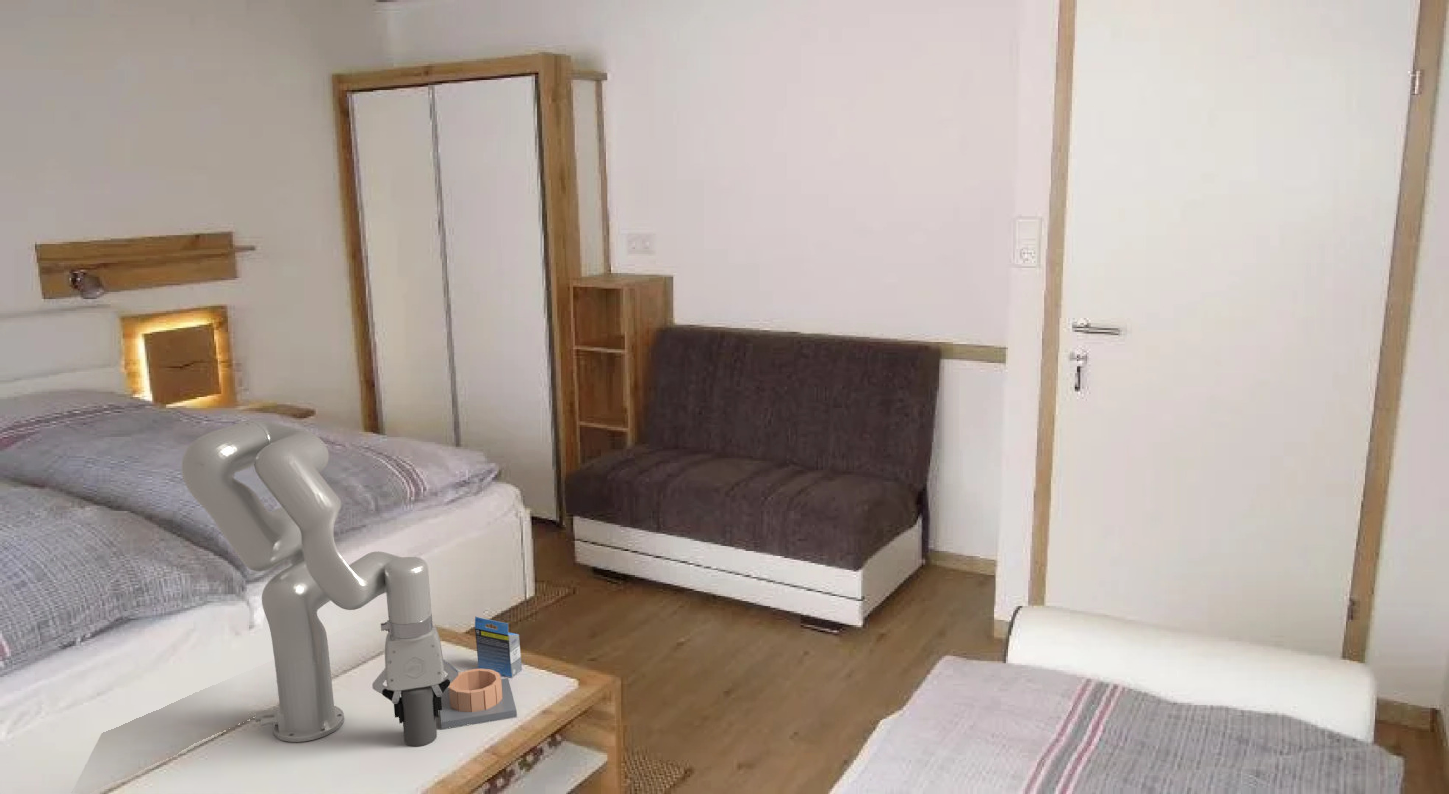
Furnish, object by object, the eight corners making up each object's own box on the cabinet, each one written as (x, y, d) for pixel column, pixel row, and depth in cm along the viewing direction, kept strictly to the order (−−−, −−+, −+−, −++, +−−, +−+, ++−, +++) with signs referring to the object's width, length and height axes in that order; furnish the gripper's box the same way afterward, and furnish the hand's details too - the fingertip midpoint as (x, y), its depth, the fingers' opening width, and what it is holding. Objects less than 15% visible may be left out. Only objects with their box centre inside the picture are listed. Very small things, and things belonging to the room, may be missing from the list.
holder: (441, 729, 198) (439, 702, 197) (438, 695, 211) (436, 670, 210) (516, 717, 202) (515, 690, 201) (508, 684, 215) (506, 659, 214)
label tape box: (522, 670, 221) (519, 616, 219) (511, 679, 218) (507, 623, 215) (488, 663, 225) (485, 609, 223) (476, 671, 222) (473, 617, 219)
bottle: (441, 731, 198) (436, 657, 195) (430, 747, 192) (424, 671, 189) (411, 729, 198) (406, 655, 195) (399, 746, 192) (393, 670, 189)
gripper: (360, 641, 184) (369, 735, 188) (461, 626, 189) (468, 718, 193) (361, 624, 191) (370, 715, 195) (458, 611, 196) (465, 700, 200)
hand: (418, 716), depth 194 cm, fingers closed on bottle, 5 cm apart
